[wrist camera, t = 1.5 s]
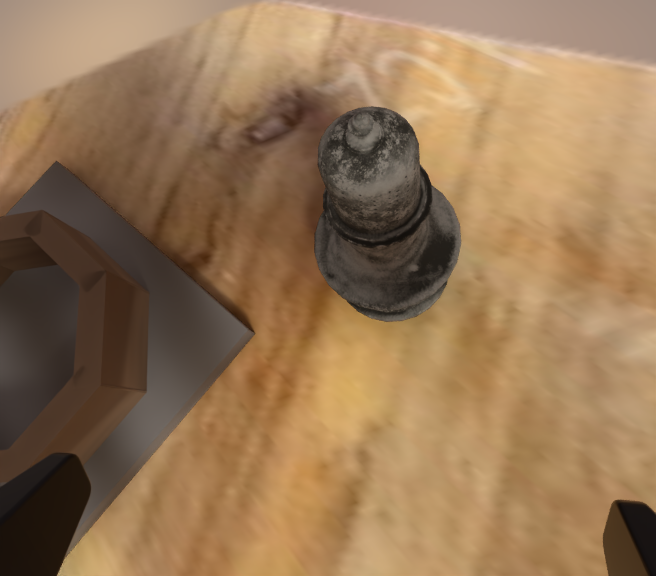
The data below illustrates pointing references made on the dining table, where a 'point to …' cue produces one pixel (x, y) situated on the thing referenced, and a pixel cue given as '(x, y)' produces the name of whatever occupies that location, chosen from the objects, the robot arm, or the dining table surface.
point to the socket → (97, 339)
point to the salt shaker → (382, 218)
